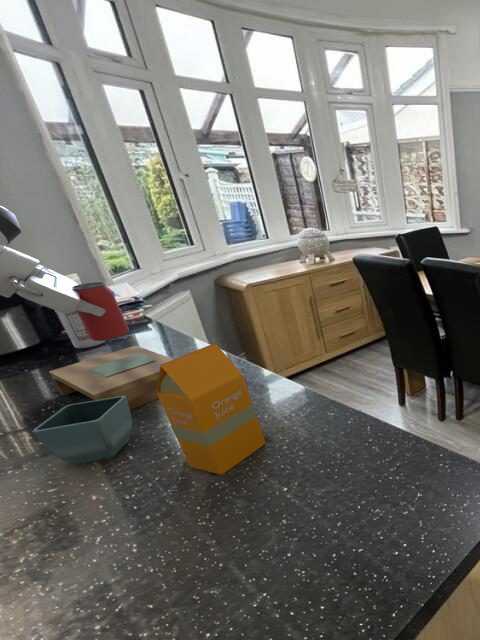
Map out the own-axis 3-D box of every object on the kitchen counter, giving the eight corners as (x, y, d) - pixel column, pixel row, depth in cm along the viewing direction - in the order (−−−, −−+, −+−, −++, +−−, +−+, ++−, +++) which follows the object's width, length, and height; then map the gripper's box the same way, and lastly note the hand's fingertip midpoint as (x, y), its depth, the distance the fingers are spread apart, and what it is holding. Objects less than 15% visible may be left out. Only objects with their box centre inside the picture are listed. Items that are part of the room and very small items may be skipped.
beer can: (119, 329, 93) (97, 280, 89) (137, 332, 91) (115, 282, 87) (84, 340, 88) (58, 288, 83) (102, 343, 86) (77, 290, 81)
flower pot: (88, 444, 73) (66, 404, 70) (146, 434, 76) (126, 394, 73) (56, 476, 66) (29, 432, 62) (121, 463, 68) (98, 420, 65)
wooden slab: (106, 419, 81) (93, 394, 79) (61, 394, 91) (48, 370, 89) (193, 385, 94) (183, 361, 92) (144, 365, 104) (135, 344, 102)
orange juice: (266, 443, 73) (233, 344, 65) (221, 475, 65) (177, 368, 57) (235, 435, 75) (199, 340, 67) (187, 466, 67) (141, 362, 59)
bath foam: (113, 340, 122) (83, 276, 114) (89, 349, 116) (56, 283, 108) (92, 339, 123) (62, 277, 115) (68, 349, 116) (33, 283, 108)
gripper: (19, 268, 71) (115, 306, 81) (27, 255, 84) (109, 289, 95) (-6, 297, 70) (95, 332, 80) (6, 279, 83) (91, 311, 93)
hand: (102, 309), depth 87 cm, fingers closed on beer can, 6 cm apart
